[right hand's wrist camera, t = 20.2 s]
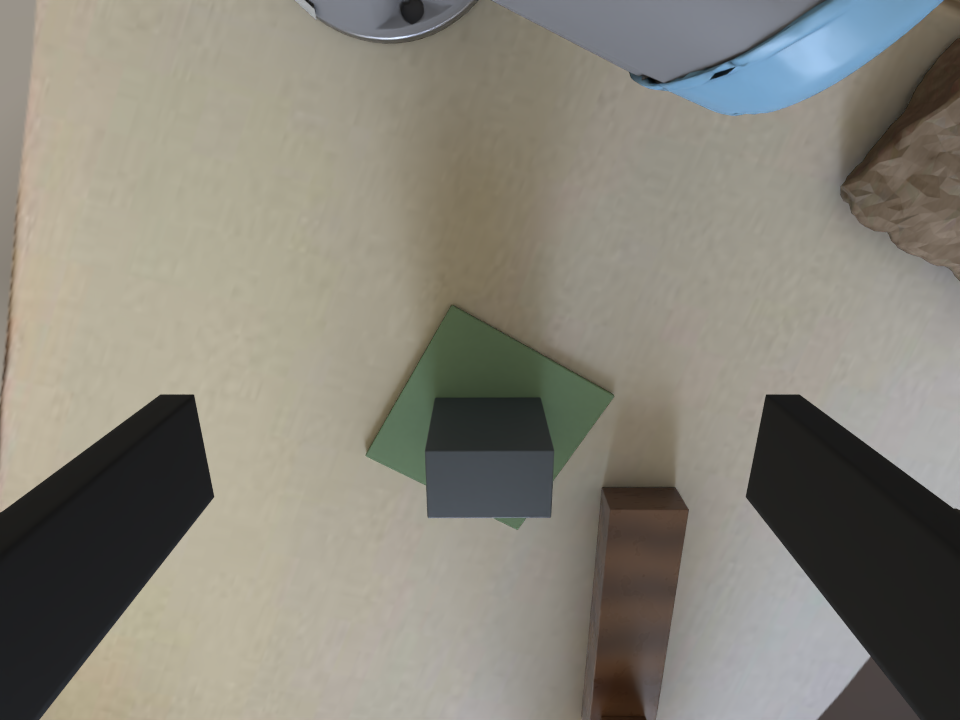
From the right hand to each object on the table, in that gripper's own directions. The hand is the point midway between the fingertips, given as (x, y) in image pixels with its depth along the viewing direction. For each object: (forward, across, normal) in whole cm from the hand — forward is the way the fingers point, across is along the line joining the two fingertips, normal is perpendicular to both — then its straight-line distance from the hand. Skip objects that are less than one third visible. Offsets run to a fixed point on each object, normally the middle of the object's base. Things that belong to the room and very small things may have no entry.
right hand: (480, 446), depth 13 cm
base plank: (+27, +13, -32) cm, 43 cm away
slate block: (+26, +1, -13) cm, 29 cm away
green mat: (+27, +1, -13) cm, 30 cm away
